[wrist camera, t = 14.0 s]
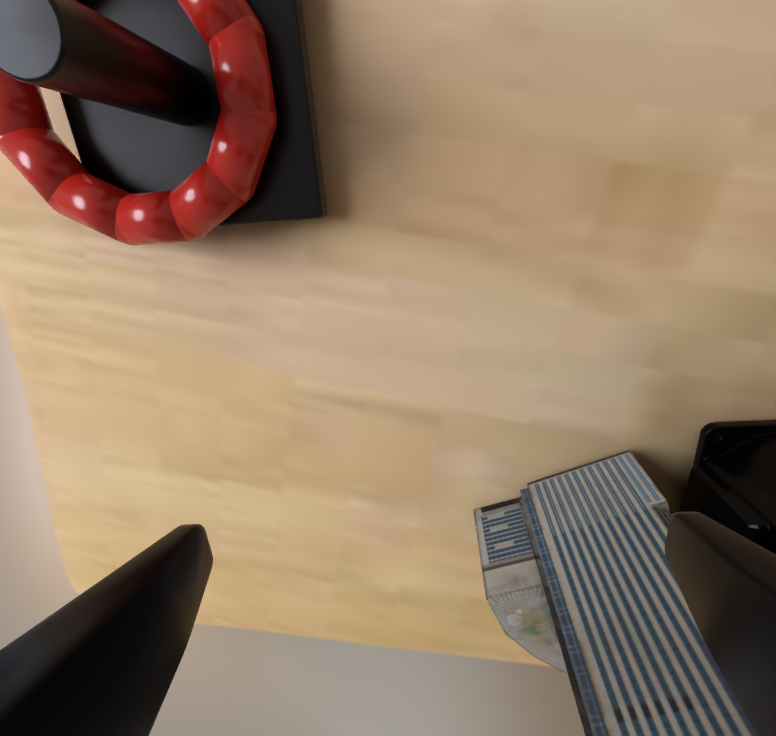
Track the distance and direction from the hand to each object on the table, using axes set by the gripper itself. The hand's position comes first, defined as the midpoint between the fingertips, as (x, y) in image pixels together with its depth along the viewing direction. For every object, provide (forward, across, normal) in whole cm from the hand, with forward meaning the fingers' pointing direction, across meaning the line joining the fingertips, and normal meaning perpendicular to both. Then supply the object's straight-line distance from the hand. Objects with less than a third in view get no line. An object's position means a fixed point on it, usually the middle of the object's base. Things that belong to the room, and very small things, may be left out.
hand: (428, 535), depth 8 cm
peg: (+12, +8, -10) cm, 18 cm away
